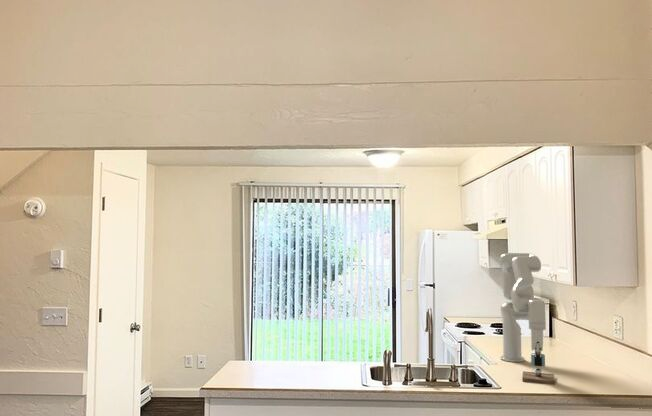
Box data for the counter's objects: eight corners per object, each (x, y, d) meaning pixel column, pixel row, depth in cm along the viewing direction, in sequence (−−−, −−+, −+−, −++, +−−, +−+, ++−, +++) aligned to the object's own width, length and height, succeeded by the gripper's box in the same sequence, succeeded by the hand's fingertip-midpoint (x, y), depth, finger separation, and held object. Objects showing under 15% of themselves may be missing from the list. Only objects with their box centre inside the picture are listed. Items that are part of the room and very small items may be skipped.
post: (535, 375, 244) (535, 367, 244) (541, 375, 243) (541, 368, 243) (535, 376, 241) (535, 369, 241) (541, 377, 240) (541, 369, 240)
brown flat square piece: (522, 374, 251) (522, 371, 251) (554, 377, 246) (553, 374, 246) (522, 381, 238) (522, 378, 238) (555, 384, 233) (555, 381, 233)
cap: (531, 363, 246) (531, 352, 246) (544, 364, 244) (544, 353, 244) (531, 365, 241) (531, 355, 241) (545, 367, 238) (544, 356, 239)
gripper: (528, 322, 253) (529, 359, 252) (528, 328, 237) (529, 367, 236) (545, 323, 250) (546, 361, 249) (546, 329, 234) (547, 369, 233)
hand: (538, 363), depth 242 cm, fingers closed on cap, 6 cm apart
